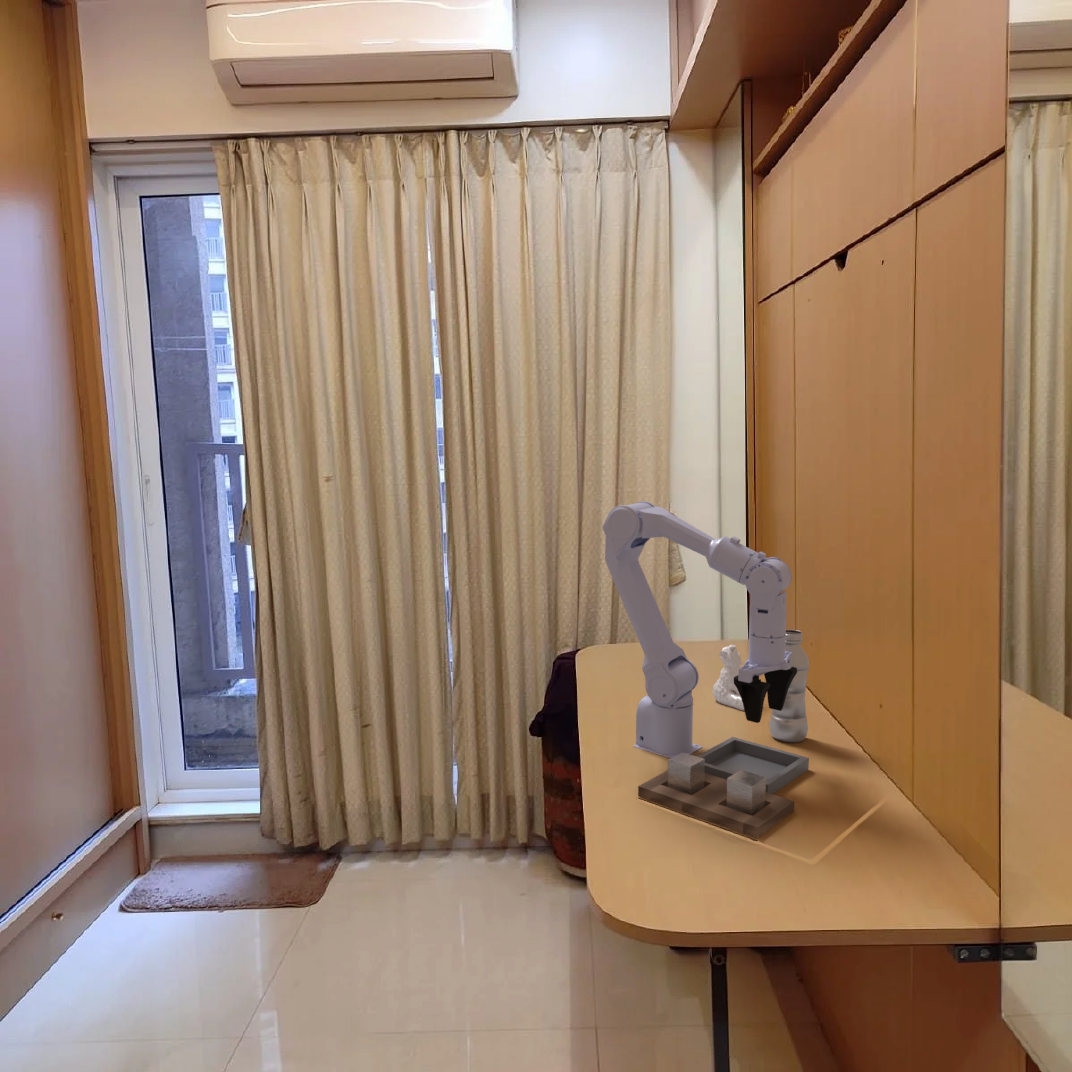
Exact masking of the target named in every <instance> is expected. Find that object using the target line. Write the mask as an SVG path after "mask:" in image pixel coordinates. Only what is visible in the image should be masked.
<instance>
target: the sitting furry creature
mask: <svg viewBox="0 0 1072 1072" xmlns="http://www.w3.org/2000/svg"><path fill="white" fill-rule="evenodd" d="M718 656H719V657H720V660H721V662H722V664H723V665H724V666H723V668H721V670H720V675H719V677H718V679H717V680H716V682H714V684H713V687H712V695H713V697H714V699H715V700H716V701H717V702H718V703H719V704H721V705H725V706H728V707H731V708H734V709H736V710H739V711H743V712H745V711H744V706H743V702H742V699H741V696H740V694H739V691H738V689H737V688H736V686H735V684H734V677H735V676H737V675H738V671H739V669H740V668H741V667H742V666H743V665H742V664H743V662H742V657H741V653H740V652H739V651H738V649H737V645H735V644H729V645H728V646H724V647H722V650H721V651H719V655H718Z"/></svg>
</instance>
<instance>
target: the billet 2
mask: <svg viewBox="0 0 1072 1072" xmlns="http://www.w3.org/2000/svg"><path fill="white" fill-rule="evenodd" d="M765 788H766V777H763V776H760V775H756V774H753V773H750V772H746V771H743V770H740V771H738V772H737V773H735V774H733V775H732V776H730V777H728V778H727V805H726V807H728V808H731V809H734V810H737V811H740V812H743V813H746V814H749V815H752V816H753V815H755V814H756V813H758V812H759V811H760V810H762V809H763V808H765Z"/></svg>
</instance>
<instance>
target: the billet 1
mask: <svg viewBox="0 0 1072 1072" xmlns="http://www.w3.org/2000/svg"><path fill="white" fill-rule="evenodd" d="M697 756H698V755H693V754H687V753H683V752H682V753H680V754H678V755H676V756H674V757H673V758H668V760H667V770H668V787H669V788H672V789H675V790H678V791H681V792H684V793H687V794H690V795H693V794H695V793H696V792H698V791H700V790H701V789H703V788H704V776H705V759H703V758H700V757H697Z"/></svg>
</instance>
